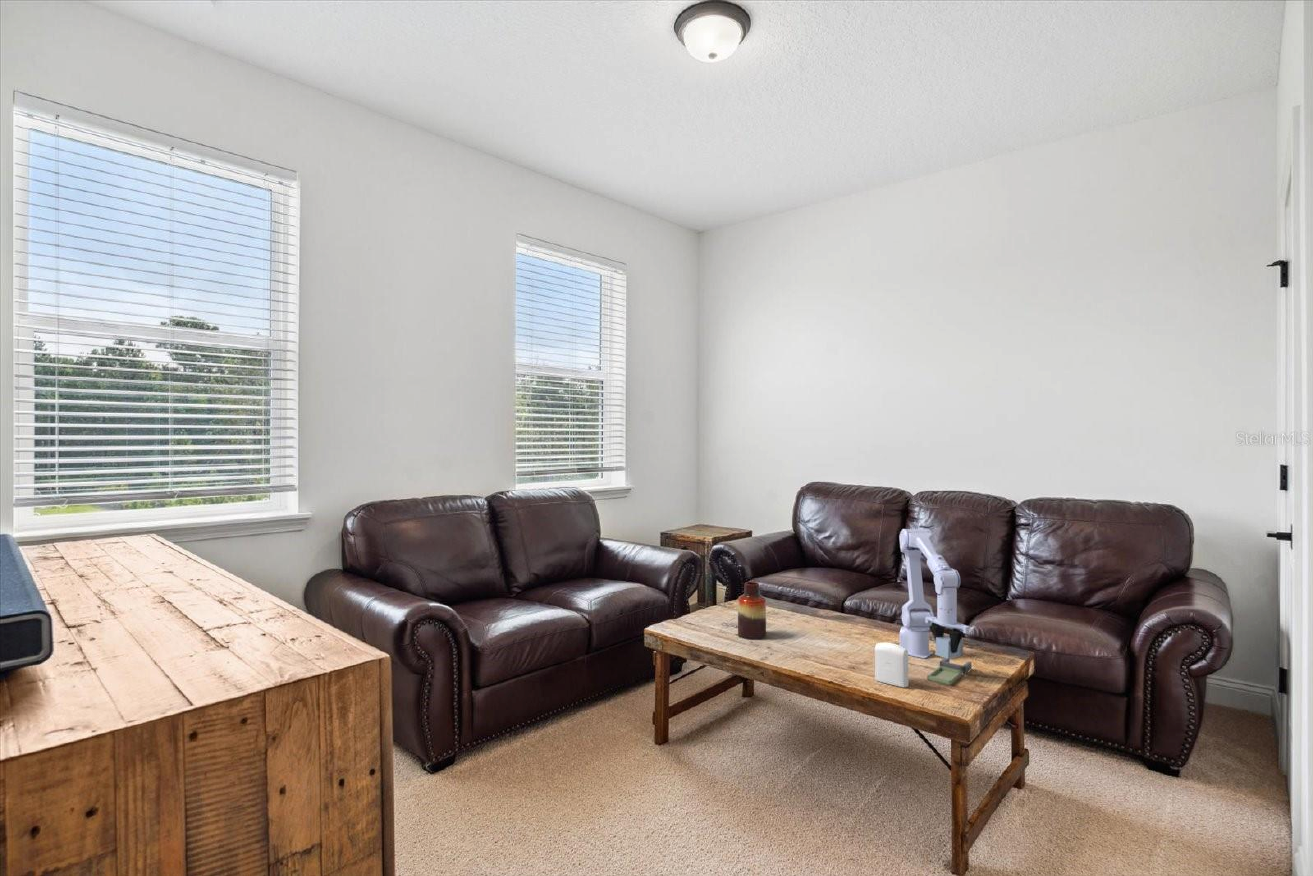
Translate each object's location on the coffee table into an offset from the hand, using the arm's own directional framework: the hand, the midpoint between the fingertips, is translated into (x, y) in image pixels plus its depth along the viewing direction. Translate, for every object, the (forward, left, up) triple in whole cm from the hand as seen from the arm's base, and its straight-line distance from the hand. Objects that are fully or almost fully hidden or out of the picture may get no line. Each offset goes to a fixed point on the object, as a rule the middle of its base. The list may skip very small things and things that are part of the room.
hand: (947, 650), depth 211 cm
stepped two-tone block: (+1, +2, -2) cm, 3 cm away
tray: (0, -2, -9) cm, 9 cm away
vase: (-71, -5, -9) cm, 72 cm away
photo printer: (-11, -17, -9) cm, 22 cm away
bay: (0, +8, -8) cm, 12 cm away
